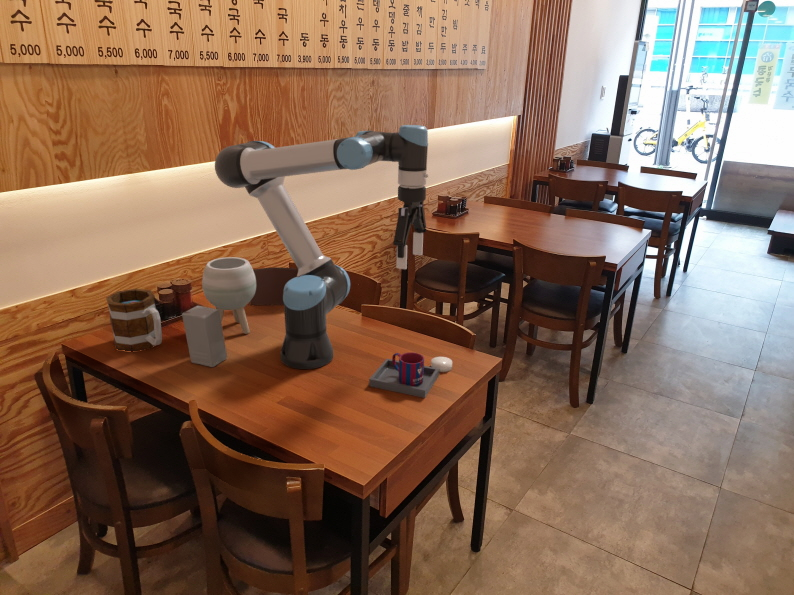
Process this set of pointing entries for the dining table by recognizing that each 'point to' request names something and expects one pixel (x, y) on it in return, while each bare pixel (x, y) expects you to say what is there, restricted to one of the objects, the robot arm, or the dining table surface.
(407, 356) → the cup
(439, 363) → the white rounded flat piece
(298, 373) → the dining table surface
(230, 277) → the planter
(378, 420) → the dining table surface
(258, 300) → the letter holder
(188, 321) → the skincare box
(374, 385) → the tray
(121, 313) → the mug
